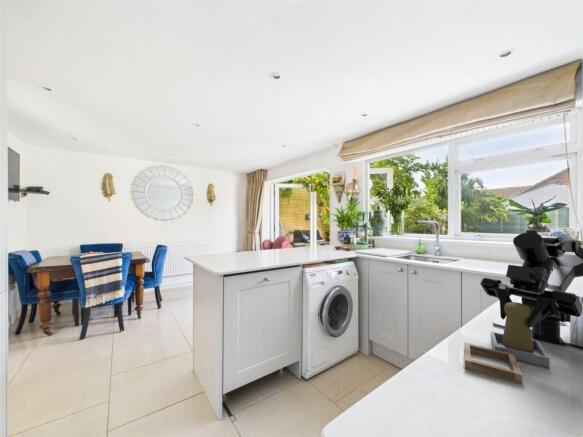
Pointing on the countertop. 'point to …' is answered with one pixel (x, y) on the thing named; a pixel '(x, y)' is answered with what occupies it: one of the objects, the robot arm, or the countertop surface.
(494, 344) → the grey square tray
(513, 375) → the walnut collar
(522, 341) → the olive flared post
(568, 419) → the countertop surface
